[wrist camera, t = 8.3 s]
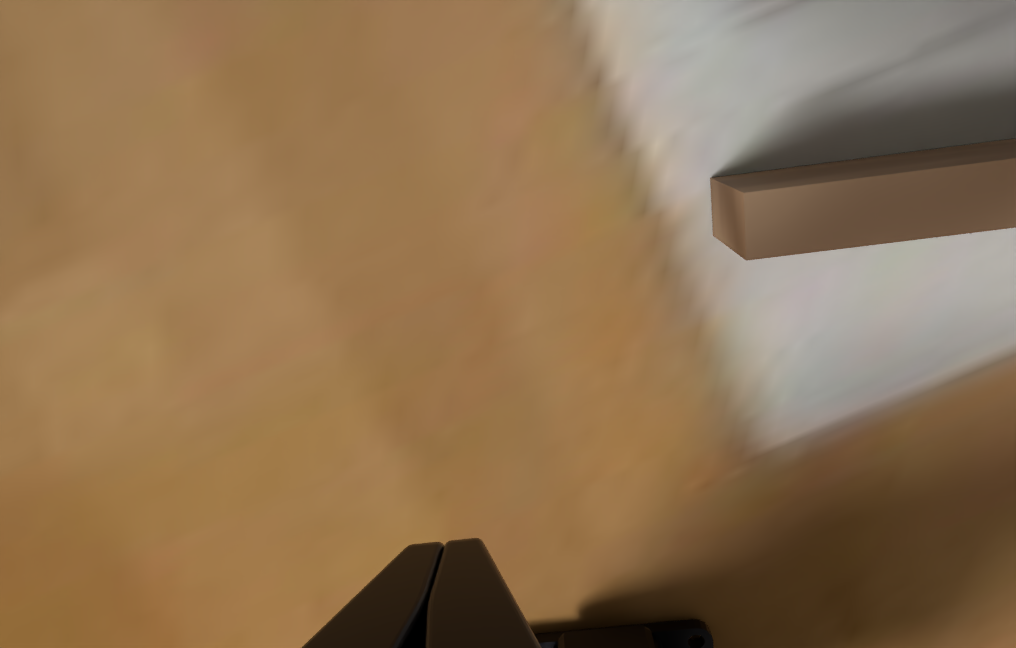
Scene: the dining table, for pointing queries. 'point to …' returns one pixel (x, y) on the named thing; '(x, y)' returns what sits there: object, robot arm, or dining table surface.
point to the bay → (867, 200)
